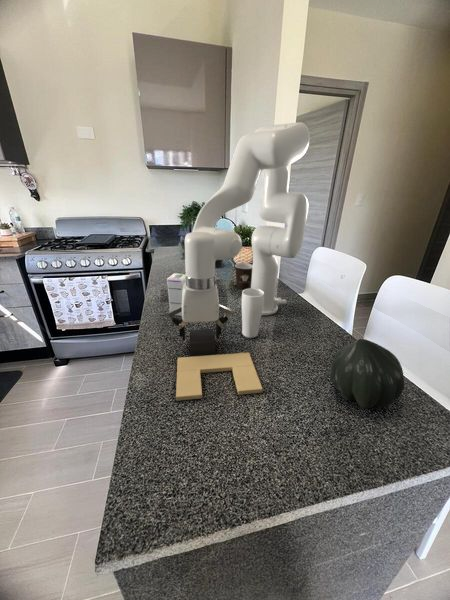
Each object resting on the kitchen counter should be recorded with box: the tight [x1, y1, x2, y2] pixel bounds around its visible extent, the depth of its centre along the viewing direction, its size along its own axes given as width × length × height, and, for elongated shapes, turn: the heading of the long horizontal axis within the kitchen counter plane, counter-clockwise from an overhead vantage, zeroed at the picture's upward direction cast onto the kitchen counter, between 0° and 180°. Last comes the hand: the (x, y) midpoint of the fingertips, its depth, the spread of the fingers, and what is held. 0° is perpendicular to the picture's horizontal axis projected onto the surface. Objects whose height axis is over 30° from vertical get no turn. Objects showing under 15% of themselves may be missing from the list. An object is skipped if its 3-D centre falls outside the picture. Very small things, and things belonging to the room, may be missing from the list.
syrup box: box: [166, 273, 186, 317], centre depth 92 cm, size 6×6×14 cm
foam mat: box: [175, 352, 263, 402], centre depth 64 cm, size 20×14×1 cm
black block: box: [189, 328, 216, 357], centre depth 73 cm, size 7×7×4 cm
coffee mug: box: [234, 262, 253, 290], centre depth 118 cm, size 12×9×10 cm
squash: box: [329, 337, 405, 410], centre depth 57 cm, size 14×15×15 cm
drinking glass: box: [240, 287, 264, 339], centre depth 79 cm, size 7×7×15 cm
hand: (200, 337), depth 72 cm, fingers open, 9 cm apart
